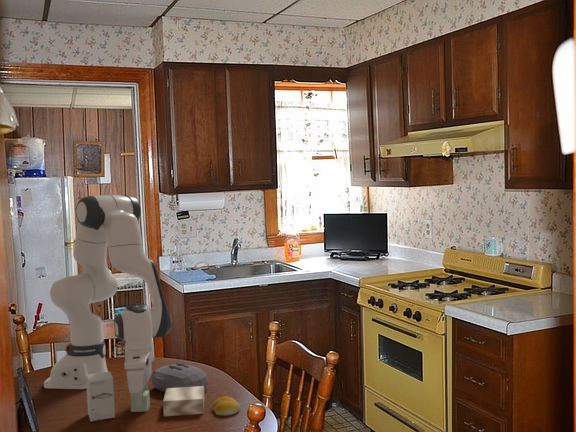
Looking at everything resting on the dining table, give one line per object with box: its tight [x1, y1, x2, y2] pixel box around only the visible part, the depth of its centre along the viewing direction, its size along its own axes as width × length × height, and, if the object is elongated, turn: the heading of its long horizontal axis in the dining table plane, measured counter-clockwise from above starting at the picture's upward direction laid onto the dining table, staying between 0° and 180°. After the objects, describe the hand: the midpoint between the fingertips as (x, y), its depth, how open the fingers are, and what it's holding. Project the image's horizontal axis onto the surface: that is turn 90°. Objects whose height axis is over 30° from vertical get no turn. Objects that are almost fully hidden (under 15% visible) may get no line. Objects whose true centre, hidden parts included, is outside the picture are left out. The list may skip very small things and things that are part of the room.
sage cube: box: [130, 389, 151, 413], centre depth 200 cm, size 5×5×5 cm
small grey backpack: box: [150, 362, 209, 394], centre depth 217 cm, size 15×8×20 cm
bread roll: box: [211, 396, 241, 416], centre depth 196 cm, size 8×9×4 cm
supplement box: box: [86, 371, 116, 423], centre depth 194 cm, size 7×7×13 cm
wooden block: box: [162, 386, 206, 417], centre depth 199 cm, size 12×12×5 cm
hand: (142, 399), depth 200 cm, fingers open, 8 cm apart
